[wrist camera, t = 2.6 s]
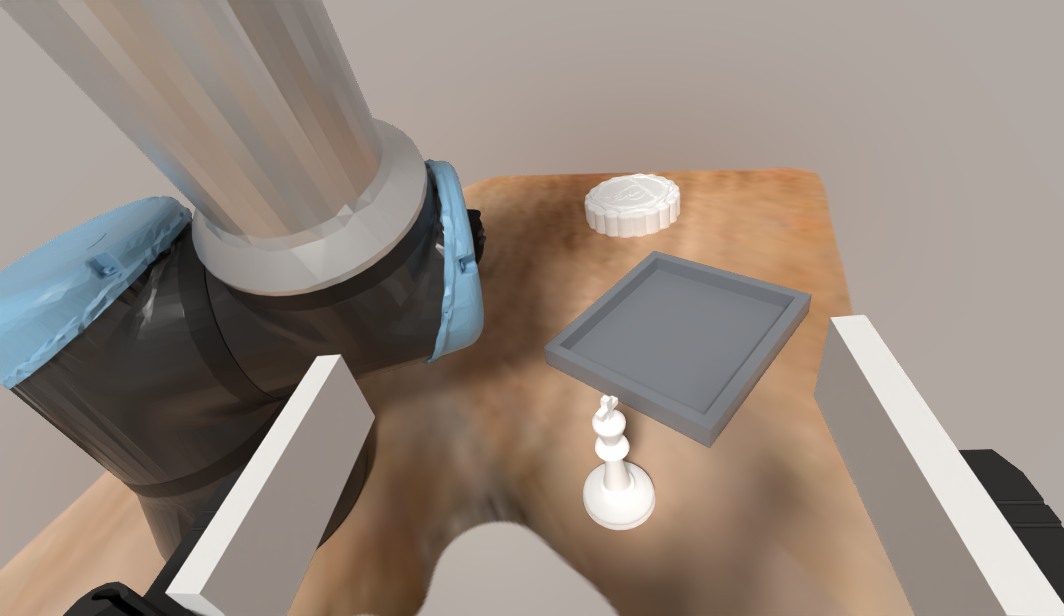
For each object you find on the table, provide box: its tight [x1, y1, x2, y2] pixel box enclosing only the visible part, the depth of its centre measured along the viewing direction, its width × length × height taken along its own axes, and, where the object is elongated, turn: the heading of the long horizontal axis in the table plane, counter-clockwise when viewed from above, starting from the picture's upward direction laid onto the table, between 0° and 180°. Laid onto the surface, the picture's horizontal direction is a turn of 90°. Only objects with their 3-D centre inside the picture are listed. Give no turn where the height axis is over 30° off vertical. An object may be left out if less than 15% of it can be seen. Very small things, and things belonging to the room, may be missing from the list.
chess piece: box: [583, 395, 656, 530], centre depth 32 cm, size 5×5×10 cm
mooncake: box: [584, 173, 680, 238], centre depth 65 cm, size 12×12×4 cm
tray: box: [543, 251, 812, 448], centre depth 45 cm, size 16×18×2 cm
